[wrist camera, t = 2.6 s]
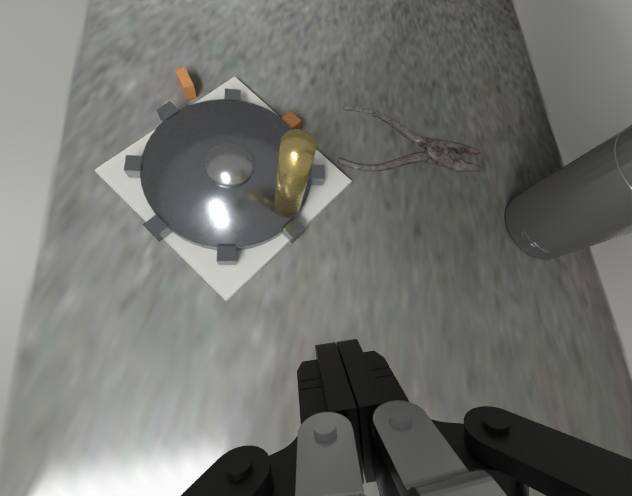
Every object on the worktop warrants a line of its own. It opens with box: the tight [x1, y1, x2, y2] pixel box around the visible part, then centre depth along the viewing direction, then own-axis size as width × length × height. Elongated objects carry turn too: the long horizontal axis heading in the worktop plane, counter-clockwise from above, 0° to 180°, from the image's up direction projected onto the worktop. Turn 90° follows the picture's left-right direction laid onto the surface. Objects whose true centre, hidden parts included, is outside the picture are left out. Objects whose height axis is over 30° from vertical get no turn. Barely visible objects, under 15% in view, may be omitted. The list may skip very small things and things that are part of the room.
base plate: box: [95, 67, 352, 301], centre depth 38 cm, size 20×24×2 cm
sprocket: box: [124, 88, 325, 265], centre depth 32 cm, size 21×21×12 cm
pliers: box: [338, 106, 481, 171], centre depth 45 cm, size 10×1×20 cm
